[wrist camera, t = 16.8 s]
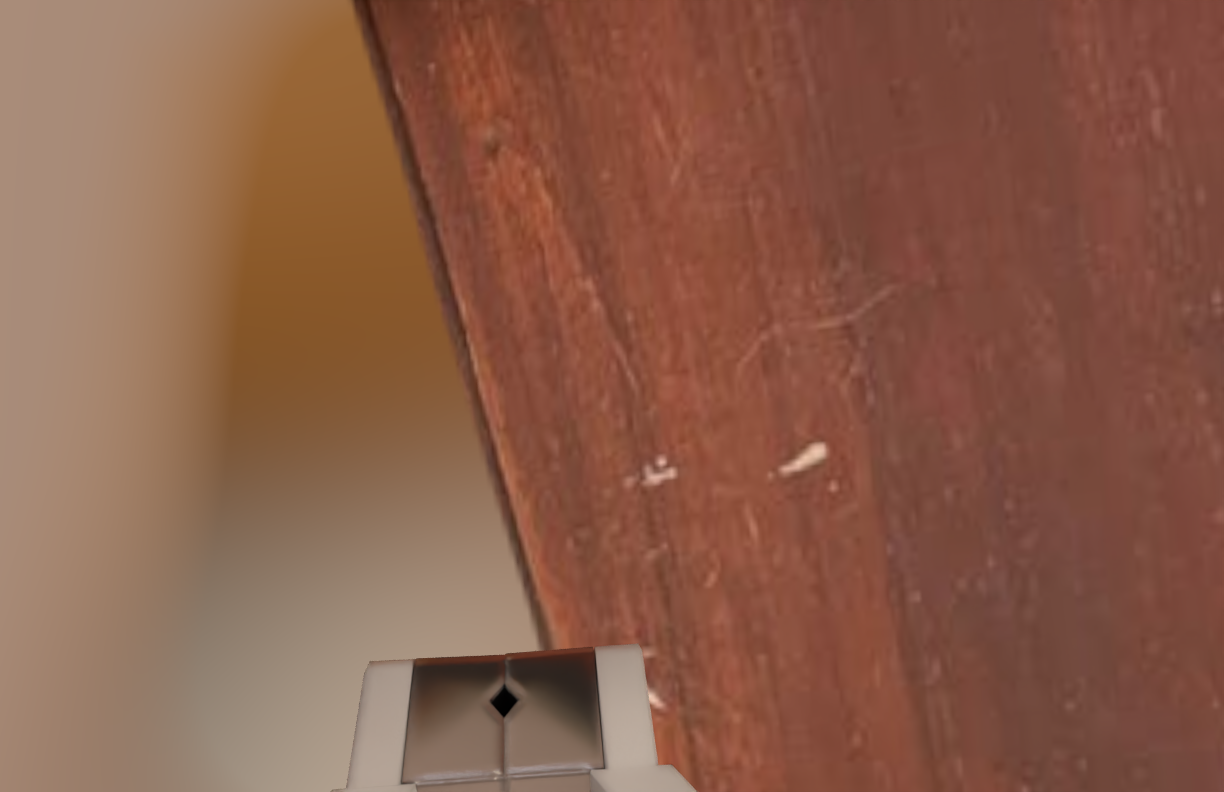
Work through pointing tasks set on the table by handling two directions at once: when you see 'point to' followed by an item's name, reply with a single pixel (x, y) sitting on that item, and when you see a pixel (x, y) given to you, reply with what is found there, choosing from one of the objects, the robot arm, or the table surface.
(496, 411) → the table surface
